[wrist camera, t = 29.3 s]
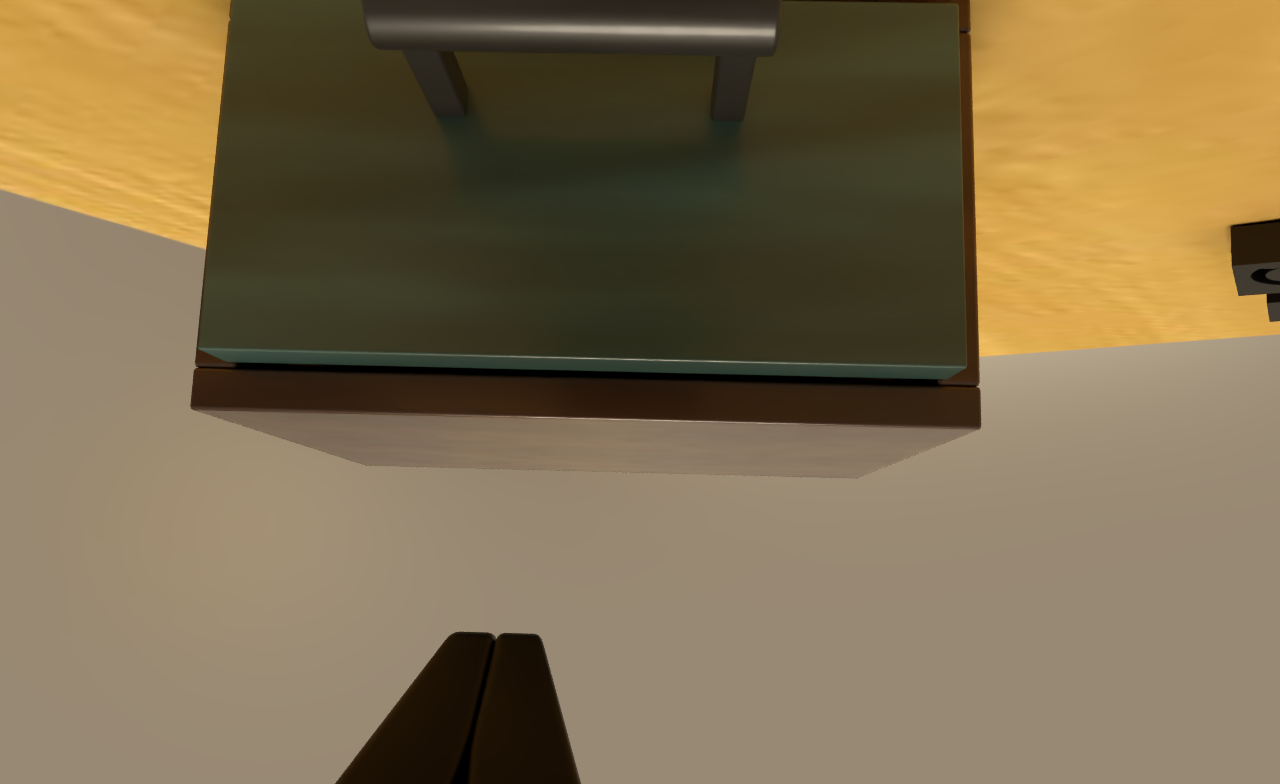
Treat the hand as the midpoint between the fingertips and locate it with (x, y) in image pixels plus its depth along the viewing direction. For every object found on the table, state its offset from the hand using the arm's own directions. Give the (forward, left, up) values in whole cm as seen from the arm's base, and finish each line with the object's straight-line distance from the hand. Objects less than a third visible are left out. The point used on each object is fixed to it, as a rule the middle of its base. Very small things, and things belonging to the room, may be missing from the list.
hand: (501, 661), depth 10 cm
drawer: (+8, +8, -11) cm, 15 cm away
